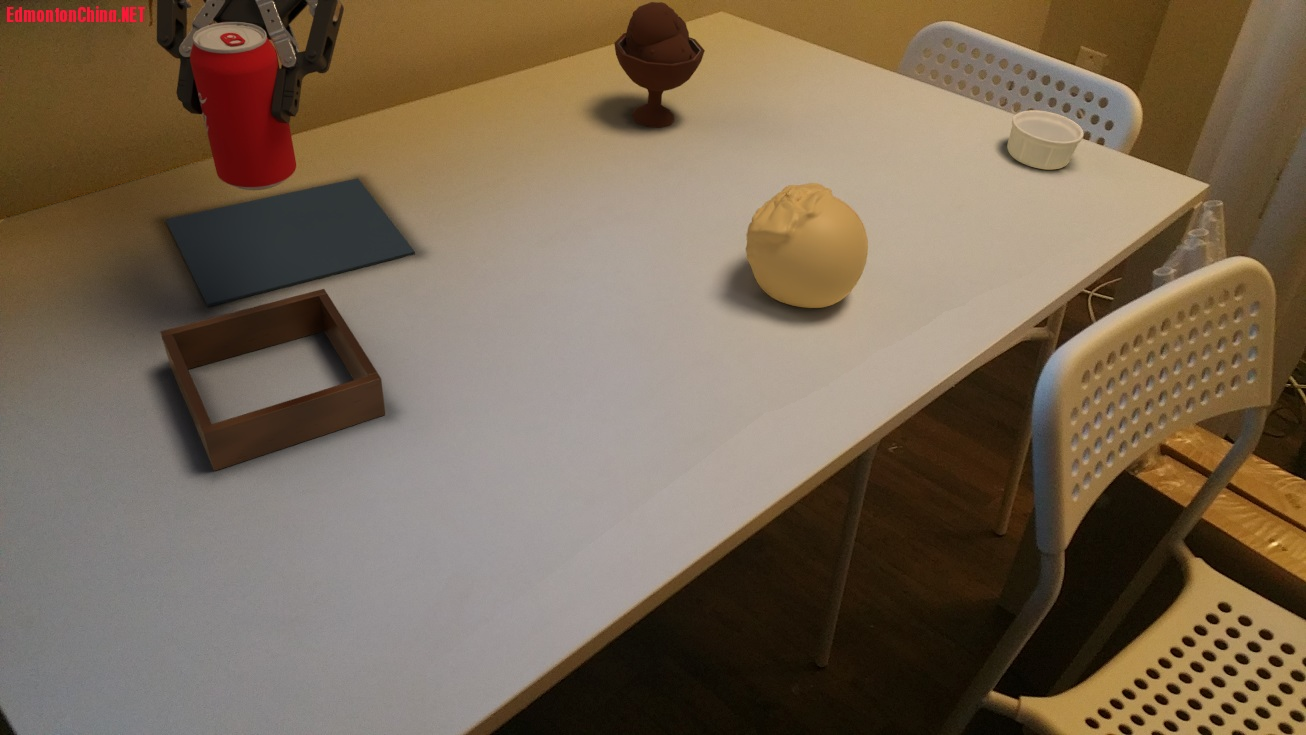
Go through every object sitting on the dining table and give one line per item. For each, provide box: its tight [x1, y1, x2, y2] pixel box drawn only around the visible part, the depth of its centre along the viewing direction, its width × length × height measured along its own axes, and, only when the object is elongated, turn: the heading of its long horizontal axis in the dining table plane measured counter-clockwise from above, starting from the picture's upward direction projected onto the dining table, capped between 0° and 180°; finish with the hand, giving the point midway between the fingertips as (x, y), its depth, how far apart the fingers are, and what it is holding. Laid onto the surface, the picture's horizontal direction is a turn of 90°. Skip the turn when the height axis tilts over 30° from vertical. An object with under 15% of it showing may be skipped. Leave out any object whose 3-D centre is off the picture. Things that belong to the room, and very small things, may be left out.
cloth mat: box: [165, 177, 416, 308], centre depth 99 cm, size 20×16×1 cm
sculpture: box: [745, 182, 869, 309], centre depth 97 cm, size 12×12×11 cm
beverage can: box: [190, 22, 297, 191], centre depth 78 cm, size 6×6×12 cm
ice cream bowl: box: [613, 1, 706, 128], centre depth 122 cm, size 11×11×15 cm
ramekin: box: [1006, 109, 1085, 171], centre depth 127 cm, size 9×9×4 cm
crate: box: [160, 288, 386, 472], centre depth 81 cm, size 14×14×4 cm
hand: (236, 114), depth 76 cm, fingers closed on beverage can, 6 cm apart
